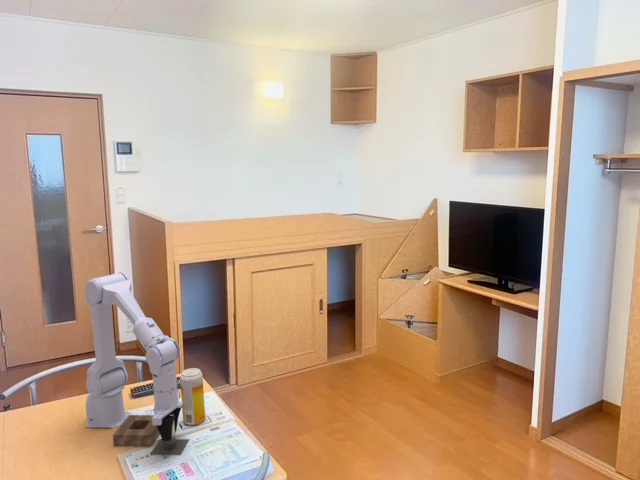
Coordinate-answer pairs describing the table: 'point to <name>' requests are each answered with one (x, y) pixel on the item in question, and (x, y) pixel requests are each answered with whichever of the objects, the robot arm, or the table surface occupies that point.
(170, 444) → the steel peg
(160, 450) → the rubber mat
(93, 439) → the table surface
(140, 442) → the walnut block
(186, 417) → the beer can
